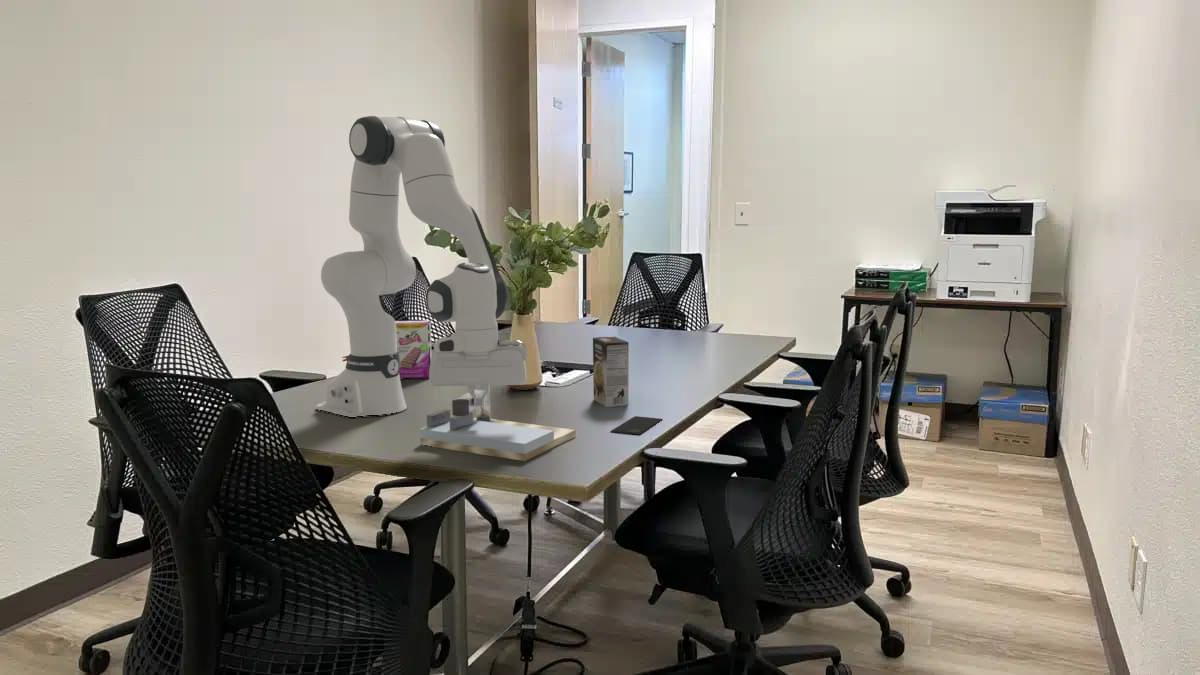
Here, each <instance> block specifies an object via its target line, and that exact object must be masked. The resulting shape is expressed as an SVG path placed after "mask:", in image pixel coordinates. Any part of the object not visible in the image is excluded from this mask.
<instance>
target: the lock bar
mask: <svg viewBox="0 0 1200 675" xmlns="http://www.w3.org/2000/svg"><path fill="white" fill-rule="evenodd" d="M490 389H491V388H490ZM490 389H489V391H488V393H487V394H486V396H485V406H474V398H473V397H472V396H471V394H470V393H469V391H467V392H466V393H464V394H463V395H461V396H460V397H458V398H457V399H453V400H451V402H452V403H451V405H452V407H451V408H452V416H453V417H455V416H466V415H469V412H470V413H472V411H474V410H475V418H476V420H477V421H485V422H489V421H491V419H492V418H491V390H490ZM474 391H475V393H476V394H477V396H478V397H482V395H483V393H484V391H485V390H482V385H477V386H476V389H475V390H474Z"/></svg>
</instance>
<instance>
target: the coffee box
mask: <svg viewBox="0 0 1200 675" xmlns="http://www.w3.org/2000/svg"><path fill="white" fill-rule="evenodd" d="M629 346H630V345H629V341H626V340H624V339H621V338H619V337H617V336H599V337H592V363H593V364H592V367H593V368H592V370H593V371H592V372H593V375H592V376H593V378H592V379H593V381H592V382H593V400H594V401H595V402H596V403H599V404H600V405H602V406H603V407H605V408H611V407H623V406H629V365H630V364H629V353H630V352H629Z"/></svg>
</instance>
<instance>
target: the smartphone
mask: <svg viewBox="0 0 1200 675" xmlns="http://www.w3.org/2000/svg"><path fill="white" fill-rule="evenodd" d="M662 420H663V418H657V417H647V416H636V415H635V416H633V417H631V418H630V419H628V420H626V421H624V422H623V423H621V424H620V425H618V426H617V427H614V428H613V429H612V430H610V432H609V433H611V434H619V435H629V436H636V435H637V436H638V437H639V436H641V435H643V434H644V433H645V434H646V433H647V432H648V431H649V430H651V429H652V428H653V426H654V427H655V426H656V424H657V423H658V424H659V422H660V421H661V422H662ZM661 422H660V423H661ZM658 424H657V425H658ZM650 428H651V429H650Z"/></svg>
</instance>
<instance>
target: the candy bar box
mask: <svg viewBox="0 0 1200 675" xmlns="http://www.w3.org/2000/svg"><path fill="white" fill-rule="evenodd" d="M395 322H396V333H397V351H398V352H399V356H400V367H399V375H400V378H404V379H403V380H406V379H405V378H409V379H408V380H411V379H410V378H414V379H413V380H416V379H415V378H418V379H419V380H421V379H420V378H425V379H429V370H430V361H431V358H432V356H433V355H432V354H433V353H432V350H433V349H432V325H431V324H432V323H431V320H395ZM418 379H417V380H418Z"/></svg>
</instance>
